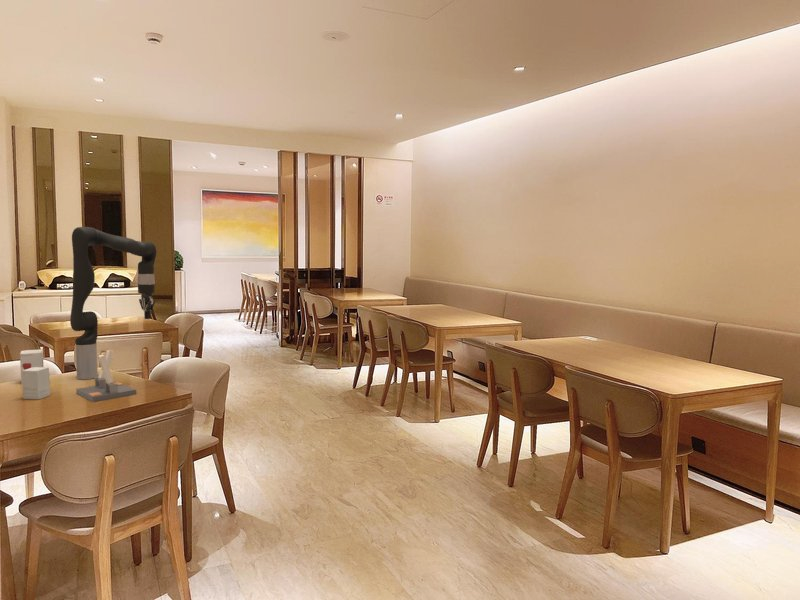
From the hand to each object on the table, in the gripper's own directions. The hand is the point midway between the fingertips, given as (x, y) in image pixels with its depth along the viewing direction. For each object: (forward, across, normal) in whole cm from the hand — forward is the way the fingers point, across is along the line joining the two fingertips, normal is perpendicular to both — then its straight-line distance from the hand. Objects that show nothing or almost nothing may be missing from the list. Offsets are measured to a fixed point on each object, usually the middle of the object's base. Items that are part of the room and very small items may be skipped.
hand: (147, 318), depth 266 cm
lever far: (+27, +3, -23) cm, 36 cm away
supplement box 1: (+31, -40, -39) cm, 64 cm away
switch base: (+31, +9, -23) cm, 40 cm away
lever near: (+27, +15, -23) cm, 38 cm away
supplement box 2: (+31, -6, -46) cm, 56 cm away
